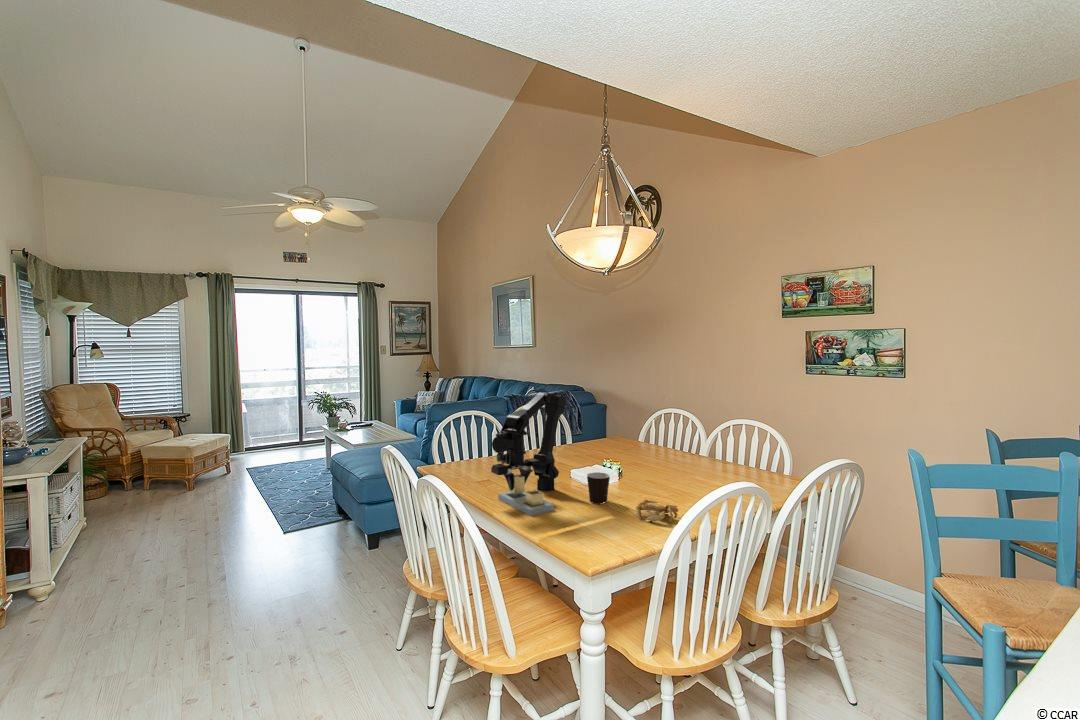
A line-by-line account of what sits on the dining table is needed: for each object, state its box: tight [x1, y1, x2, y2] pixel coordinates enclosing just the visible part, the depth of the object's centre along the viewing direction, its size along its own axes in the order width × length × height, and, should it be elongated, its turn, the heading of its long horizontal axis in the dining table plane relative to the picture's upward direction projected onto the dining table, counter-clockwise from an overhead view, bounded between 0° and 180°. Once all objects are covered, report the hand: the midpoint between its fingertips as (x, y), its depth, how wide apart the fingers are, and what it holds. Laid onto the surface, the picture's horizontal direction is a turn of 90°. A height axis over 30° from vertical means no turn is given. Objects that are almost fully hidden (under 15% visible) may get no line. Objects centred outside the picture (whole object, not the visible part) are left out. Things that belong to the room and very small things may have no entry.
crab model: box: [635, 499, 679, 522], centre depth 174 cm, size 16×13×6 cm
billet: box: [507, 473, 526, 494], centre depth 190 cm, size 4×4×6 cm
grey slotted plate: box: [497, 491, 555, 517], centre depth 185 cm, size 22×10×3 cm, turn 35°
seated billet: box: [525, 489, 544, 507], centre depth 180 cm, size 4×4×6 cm
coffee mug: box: [586, 471, 611, 504], centre depth 190 cm, size 12×9×10 cm
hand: (516, 489), depth 190 cm, fingers closed on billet, 4 cm apart
